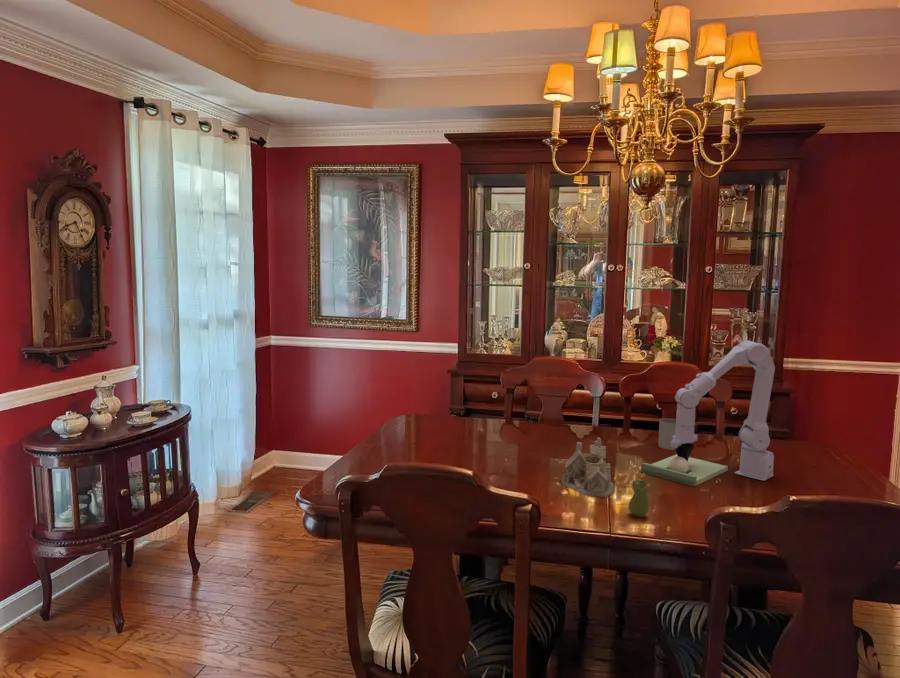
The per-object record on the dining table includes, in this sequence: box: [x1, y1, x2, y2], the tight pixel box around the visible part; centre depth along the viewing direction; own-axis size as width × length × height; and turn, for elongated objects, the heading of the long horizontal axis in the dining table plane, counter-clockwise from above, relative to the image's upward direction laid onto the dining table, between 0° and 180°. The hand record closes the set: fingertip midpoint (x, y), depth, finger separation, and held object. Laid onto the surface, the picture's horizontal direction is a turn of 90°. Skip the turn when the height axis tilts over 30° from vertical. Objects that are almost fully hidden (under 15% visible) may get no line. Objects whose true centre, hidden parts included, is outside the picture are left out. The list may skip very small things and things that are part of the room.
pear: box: [628, 479, 650, 518], centre depth 169 cm, size 6×5×10 cm
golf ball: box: [669, 456, 689, 473], centre depth 204 cm, size 6×6×6 cm
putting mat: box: [640, 453, 729, 488], centre depth 207 cm, size 18×24×3 cm
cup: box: [657, 417, 676, 451], centre depth 236 cm, size 8×8×10 cm
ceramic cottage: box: [560, 437, 615, 498], centre depth 191 cm, size 16×16×15 cm
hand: (682, 465), depth 206 cm, fingers closed, pressing on golf ball
